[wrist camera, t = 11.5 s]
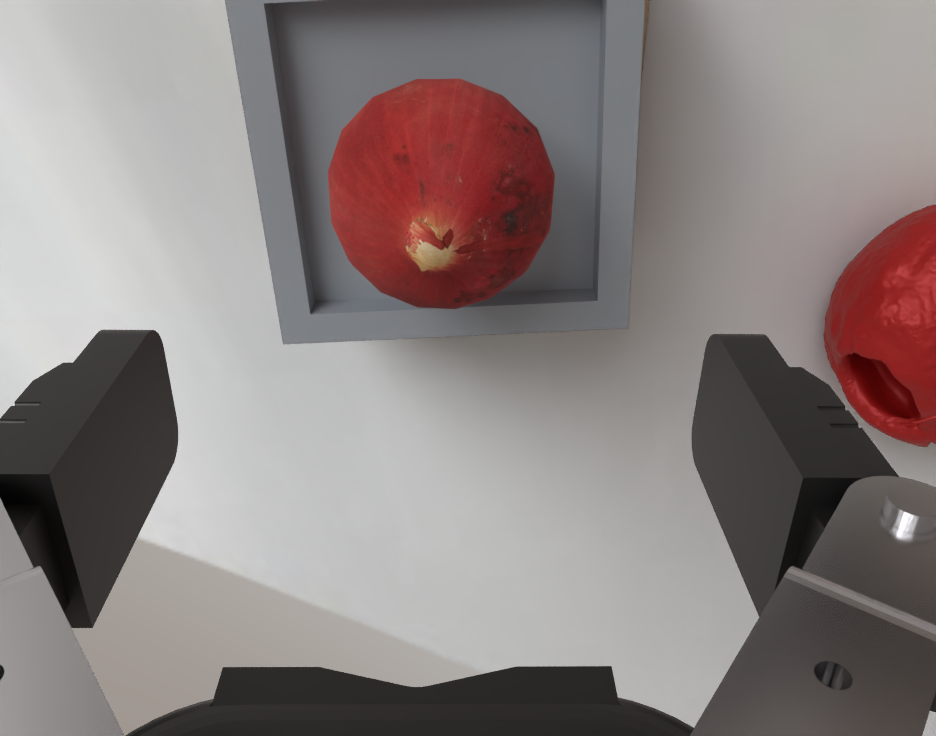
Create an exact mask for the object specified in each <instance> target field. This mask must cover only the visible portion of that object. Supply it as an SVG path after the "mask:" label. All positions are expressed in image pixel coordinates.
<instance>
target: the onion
mask: <svg viewBox="0 0 936 736" xmlns="http://www.w3.org/2000/svg"><path fill="white" fill-rule="evenodd" d="M554 181H555V173H554V170H553V168H552V165H551V163H550V160H549V157H548V155H547V152H546V149H545V147H544V144H543V142H542V139H541V136H540V134H539V131H538V129H537V127H536V126H534V125H533V124H532V123H531V122H530V121H529V120H528V119H527V118H526V117H525V116H524V115H523V114H522V113H521V112H520V111H519V110H518V109H517V108H516V107H515V106H513V105H512V104H511V103H510V102H509V101H508V100H507V99H506V98H505V97H504V96H503V95H501V94H498V93H496V92H493V91H491V90H488V89H486V88H483V87H480V86H478V85H475V84H473V83H470V82H468V81H465V80H463V79H460V78H458V79H415V80H413V81H410V82H408V83H405V84H403V85H401V86H398V87H396V88H393V89H391V90H388V91H386V92H384V93H381V94H379V95H376V96H374V97H372V98H371V99H370V100H369V101H368V102H367V103H366V105H365V106H364V107H363V108H362V109H361V110H360V111H359V112H358V113H357V114H356V115H355V116H354V118H353V119H352V120H351V121H350V122H349V123H348V124H347V125H346V126H345V127H344V128H343V129H342V130H341V133H340V136H339V140H338V143H337V146H336V149H335V152H334V155H333V158H332V161H331V164H330V167H329V170H328V183H329V198H330V213H331V223H332V225H333V228H334V230H335V232H336V234H337V236H338V239H339V241H340V243H341V245H342V247H343V249H344V252H345V254H346V256H347V258H348V260H349V261H350V263H351V264H352V265H353V266H354V267H355V268H356V269H357V270H358V271H359V272H360V273H361V274H362V275H363V276H364V277H365V278H366V279H367V280H368V281H369V282H371V283H372V284H373V285H374V286H375V287H376V288H377V289H378V290H379V291H380V292H381V293H383V294H386V295H388V296H391V297H393V298H396V299H398V300H400V301H403V302H405V303H408V304H410V305H413V306H415V307H418V308H440V309H458V308H461V307H464V306H467V305H471V304H474V303H477V302H480V301H483V300H487V299H490V298H492V297H493V296H494V295H496V294H497V293H499V292H500V291H501V290H503V289H504V288H505V287H507V286H508V285H509V284H511V283H512V282H513V281H515V280H516V279H517V278H519V277H520V276H521V275H523V274H524V273H525V272H526V271H527V270H528V268H529V266H530V265H531V263H532V261H533V259H534V257H535V256H536V254H537V252H538V250H539V249H540V247H541V245H542V243H543V241H544V240H545V238H546V236H547V234H548V233H549V231H550V225H551V217H552V205H553V193H554Z"/></svg>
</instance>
